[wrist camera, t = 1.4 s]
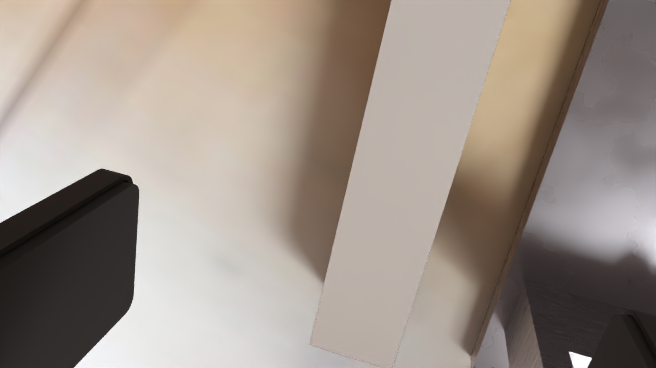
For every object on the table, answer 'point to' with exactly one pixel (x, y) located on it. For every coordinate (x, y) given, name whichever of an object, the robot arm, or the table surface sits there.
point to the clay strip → (404, 170)
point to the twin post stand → (586, 208)
